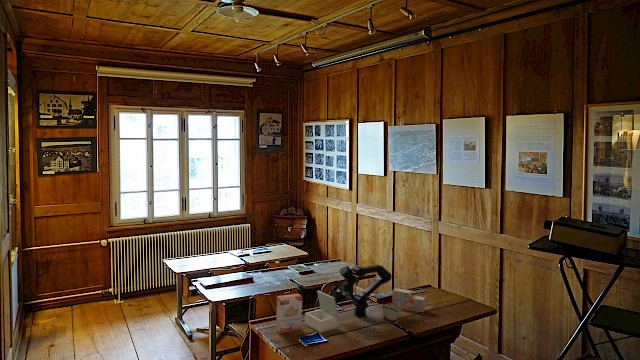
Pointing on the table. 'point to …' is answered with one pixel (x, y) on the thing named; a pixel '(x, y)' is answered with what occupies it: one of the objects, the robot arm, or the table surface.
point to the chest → (320, 320)
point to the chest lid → (327, 303)
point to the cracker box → (289, 313)
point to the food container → (390, 313)
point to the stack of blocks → (408, 300)
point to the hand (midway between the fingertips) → (335, 303)
